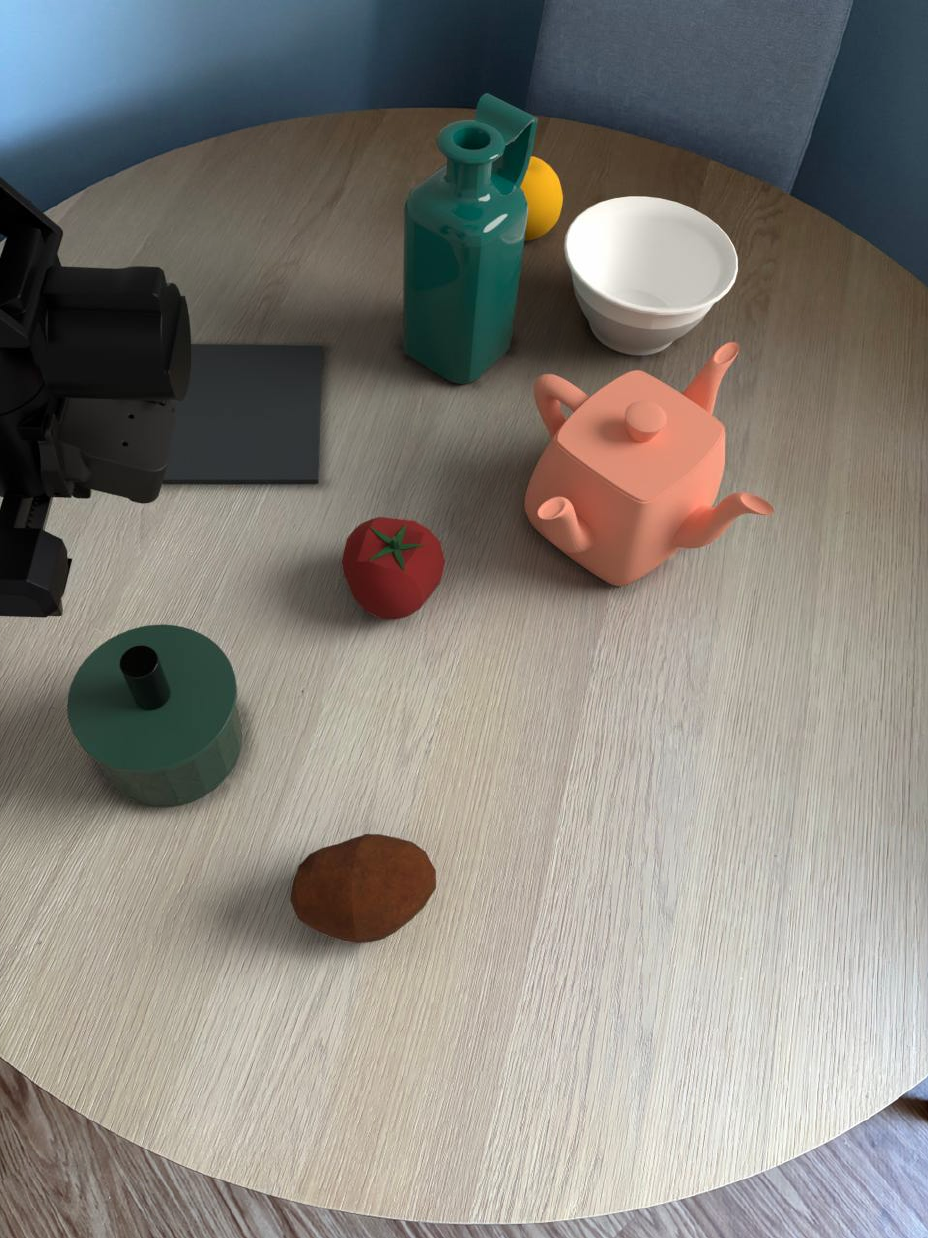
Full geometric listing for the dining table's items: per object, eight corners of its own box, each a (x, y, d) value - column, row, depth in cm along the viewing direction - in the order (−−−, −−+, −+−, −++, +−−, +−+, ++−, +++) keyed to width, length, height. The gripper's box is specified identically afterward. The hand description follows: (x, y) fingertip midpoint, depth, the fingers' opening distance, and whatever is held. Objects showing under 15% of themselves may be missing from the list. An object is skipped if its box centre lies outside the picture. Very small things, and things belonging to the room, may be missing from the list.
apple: (568, 247, 108) (579, 183, 101) (494, 257, 106) (501, 192, 100) (544, 198, 112) (554, 133, 105) (473, 207, 110) (478, 142, 104)
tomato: (453, 566, 86) (458, 512, 80) (421, 646, 82) (424, 595, 76) (361, 539, 87) (359, 483, 81) (325, 616, 83) (320, 564, 77)
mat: (102, 483, 88) (101, 479, 88) (125, 347, 97) (124, 342, 96) (318, 483, 90) (318, 479, 89) (322, 349, 98) (322, 344, 97)
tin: (92, 809, 73) (66, 768, 67) (110, 682, 78) (87, 634, 73) (237, 805, 74) (224, 765, 68) (245, 680, 79) (234, 633, 73)
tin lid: (59, 779, 68) (34, 742, 63) (83, 633, 73) (62, 589, 69) (232, 776, 68) (221, 739, 64) (243, 631, 74) (233, 587, 69)
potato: (304, 845, 73) (297, 810, 67) (437, 855, 73) (441, 822, 68) (289, 947, 69) (280, 919, 64) (430, 957, 69) (433, 931, 64)
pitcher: (465, 393, 96) (483, 183, 77) (393, 350, 98) (394, 135, 80) (526, 336, 100) (557, 123, 82) (456, 296, 103) (471, 80, 84)
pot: (732, 609, 85) (781, 516, 75) (520, 604, 84) (540, 509, 74) (702, 436, 95) (741, 332, 85) (511, 430, 94) (527, 324, 83)
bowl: (705, 273, 107) (728, 200, 100) (722, 387, 98) (749, 317, 91) (550, 263, 106) (561, 189, 99) (553, 377, 98) (566, 306, 91)
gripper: (115, 529, 49) (174, 685, 63) (174, 263, 59) (214, 446, 73) (-127, 520, 49) (-16, 680, 62) (-27, 253, 59) (50, 440, 72)
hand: (69, 553), depth 67 cm, fingers open, 9 cm apart
